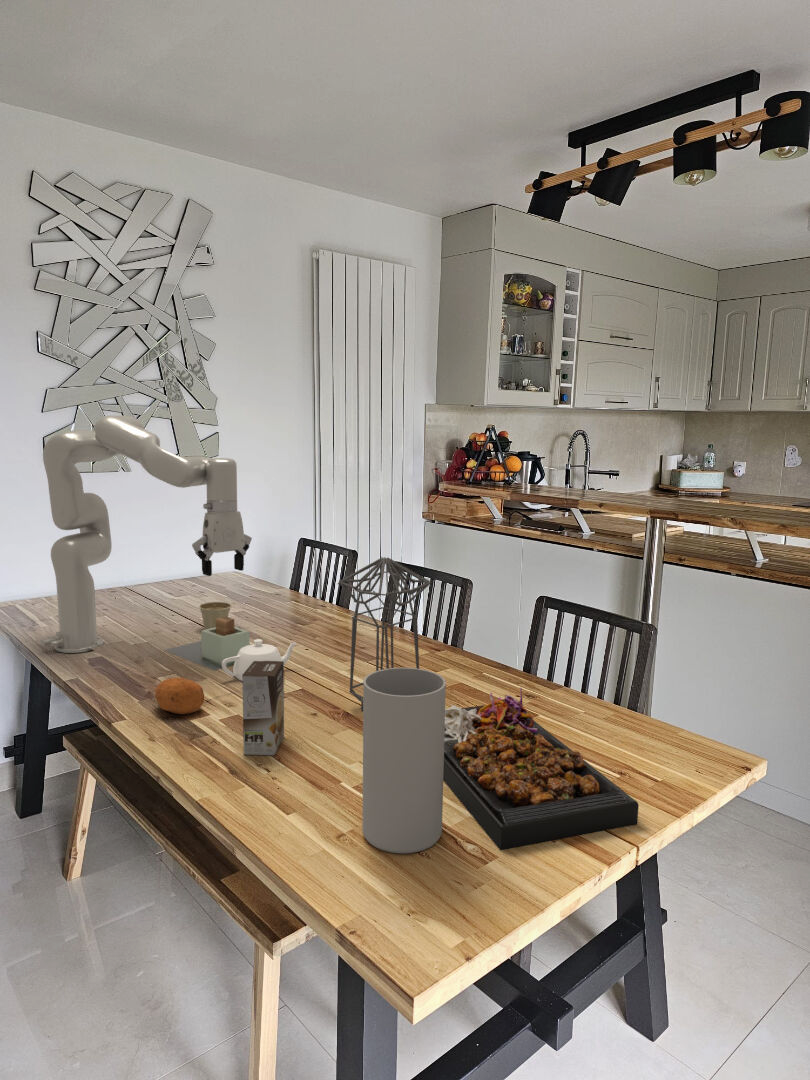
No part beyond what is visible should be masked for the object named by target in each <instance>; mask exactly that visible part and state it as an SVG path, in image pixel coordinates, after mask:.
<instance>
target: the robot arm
mask: <svg viewBox="0 0 810 1080" xmlns="http://www.w3.org/2000/svg"><path fill="white" fill-rule="evenodd" d="M92 429H93V430H67V431H62V432H59V433H56V434H54V435H52V436H51V437H50V438H49V439H48V440H47V442H46V443H45V444H44V448H43V452H42V460H43V466H44V469H45V474H46V478H47V484H48V485H47V486H48V494H49V502H50V510H51V511H50V512H51V518H52V521H53V524H54V525H55V526H56V528H58V529H59V530H62V531H73V530H79V532H80V533H79V532H78V533H75V534H68V535H66V536H65V535H64V536H62V537H60V538H58V539H57V540H56V541H55V542H54V543H53V544H52V545H51V549H50V558H51V559H50V560H51V564H52V567H53V570H54V575H55V581H56V583H55V584H56V595H57V610H58V613H57V614H58V627H59V631H57V632H56V631H55V635H53V636H52V637H47V638H43V639H41V645H42V647H47V646H51V647H54V650H55V651H56V652H60V653H64V654H78V653H86V652H90V651H93V648H96V647H100V646H103V645H104V639H102V638H101V637H99V636H98V630H97V626H98V625H97V624H98V623H97V609H96V590H95V588H96V587H95V582H94V581H95V580H94V578H93V576H92V574H91V572H90V569H89V567H90V566H95V565H98V564H101V563H103V562H105V561H107V560H108V558H109V557H110V555H111V552H112V536H111V526H110V519H109V518H110V517H109V512H108V508H107V504H106V503H105V501H104V499H103V498H101V497H100V496H99V495H98V494H96V493H92V492H84V491H85V490H84V485H83V483H84V482H83V479H82V475H81V473H80V471H79V469H78V468H77V467H76V466H75V464H77V463H90V462H91V463H92V462H93V463H94V462H101V461H106V460H108V459H110V458H114V457H115V456H118V455H122V456H124V457H126V458H128V459H131V460H133V461H134V462H136V463H139V464H140V465H141V467H142V468H143V469H144V470H145V472H147V473H148V474H149V475H150V476H151V477H154V478H156V479H158V480H160V481H162V482H164V483H166V484H168V485H170V486H173V487H177V488H181V489H183V488H190V487H199V486H205V485H206V503H203V506H202V508H203V509H204V510H206V512H205V513H204V516H203V517H204V518H203V523H202V524H203V525H202V536H201V537H200V538H199V539H197V540H196V541H194V542H193V543H192V545H191V546H192V549H193V551H194V552H195V553H194V554H195V555H196V556H197V557H198V558H199V559H200V560H201V572H202V574H203V575H204V576H207V577H211V576H212V575H213V565H212V564H213V563H212V560H210V559H211V557H212V556H213V554H214V553H216V554H218V553H226V552H227V553H228V552H235V554H234V556H233V559H234V560H233V561H234V564H233V567H234V569H235V570H238V571H240V572H243V571H244V569H245V568H244V565H245V555H246V554H247V553H246V552H247V551H248V550H249V548H250V545H251V542H252V539H253V538H252V537H251V536H249V535H248V534H245V532H244V524H243V518H242V514H241V511H238V480H237V479H238V474H237V473H238V472H237V471H238V470H237V469H238V468H237V462H236V461H235V459H233V458H230V457H229V458H226V457H225V458H223V457H214V458H213V457H212V458H211V457H207V456H201V455H199V456H183V457H181V456H178V455H176V454H174V453H171V452H169V451H168V450H165V449H164V448H161V441H160V440H161V439H160V438H159V437H158V435H156V434H155V433H153V432H151V431H149V430H146V429H145V426H144V425H143V423H142V422H141V420H139V419H138V418H136V417H135V416H131V415H115V414H114V415H105V416H103V417H100V418H99V419H97V421H96V422H95V423H94V425H93V428H92ZM202 548H203V550H202Z"/></svg>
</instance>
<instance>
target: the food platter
mask: <svg viewBox="0 0 810 1080" xmlns="http://www.w3.org/2000/svg"><path fill="white" fill-rule="evenodd" d="M519 690H520V696H519V697H520V698H519V701H518V700H517V699H516V698H514V696H512V695H508V694H504V698H501V696H499V697H498V699H497V700H495V701H494V698H493V693H492V691H490V692H489V693H490V695H489V696H490V698H489V700H490V703H488V704H484V705H476V706H467V707H462V708H461V707H460V706H459V707H458V706H457V705H456V704H455V705H454V704H452V705H451V706H450V707H448V708H445V733H444V771H443V783H445V784H446V786H447V787H448V788H449V789H450V791H451V792H452V793H453V795H454V796H455V797H456V798H457V800H458V801H460V803H461V804H462V805H463V806H464V808H465V809H466V810H467V811H468V813H469V814H470V815H471V817H472V818H473V819H474V820H475V822H476V823H477V824H478V825H479V826H480V827H481V829H482V830H483V831H484V832H485V834H486V835H487V836H488V837H489V839H491V841H492V842H493V844H494V845H495V846H496V847H497V849H498V850H499V851H507V850H512V849H518V848H523V847H528V846H529V847H530V846H532V845H538V844H542V843H548V842H554V841H558V840H564V839H568V838H569V839H570V838H575V837H579V836H586V835H591V834H595V833H601V832H606V831H611V830H616V829H621V828H627V827H632V826H636V825H638V821H639V820H638V819H639V802H638V801H637V800H635V799H634V798H633V797H631V796H630V795H629V794H627V793H626V792H625V791H624V790H623V789H621V788H620V787H619V786H618V785H617V784H615V783H614V782H612V781H611V780H610V779H609V778H608V777H606V776H605V775H604V774H603V773H601V772H599V770H597V769H596V768H595V767H593V766H592V765H591V764H590V763H589V762H588V761H586V760H584V757H583V755H582V753H581V752H580V751H577V750H575V751H573V750H572V749H571V748H569V747H568V746H567V745H566V744H564V743H563V742H562V741H561V740H559V739H558V738H557V737H555V736H554V735H553V734H552V733H551V732H549V731H548V730H547V729H545V728H544V727H543V726H542V725H540V724H539V723H538V722H537V721H535V720H534V719H533V716H532V715H531V714H528V710H527V709H526V708H525V707H524V703H523V695H522V694H523V693H522V691H523V688H522V687H520V689H519Z"/></svg>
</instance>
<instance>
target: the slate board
mask: <svg viewBox="0 0 810 1080" xmlns="http://www.w3.org/2000/svg"><path fill="white" fill-rule="evenodd" d="M163 651H164V652H167V653H170V654H171V655H175V656H177V657H179V658H182V659H185V660H187V661H190V662H192V663H195V664H197V665H200V666H201V667H204V668H206V669H210V670H212V671H214V672H215V671H218V670H223V668H222V667H220V666H218V665H215V664H213V663H210V662H208V661H205V660H203V659H202V642H201V640H199V641H196V642H195V641H194V642H190V643H186V644H182V645H177V646H174V647H171V648H169V647H168V648H166V649H163ZM229 667H233V665H230V666H227V668H229Z"/></svg>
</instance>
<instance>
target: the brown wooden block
mask: <svg viewBox="0 0 810 1080" xmlns="http://www.w3.org/2000/svg"><path fill="white" fill-rule="evenodd" d="M235 627H236V626H235V619H234V618H231V617H229V616H228V617H221V618H217V619H216V634H219V635H222V636H226V635H230V634H234V633H235Z"/></svg>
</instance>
